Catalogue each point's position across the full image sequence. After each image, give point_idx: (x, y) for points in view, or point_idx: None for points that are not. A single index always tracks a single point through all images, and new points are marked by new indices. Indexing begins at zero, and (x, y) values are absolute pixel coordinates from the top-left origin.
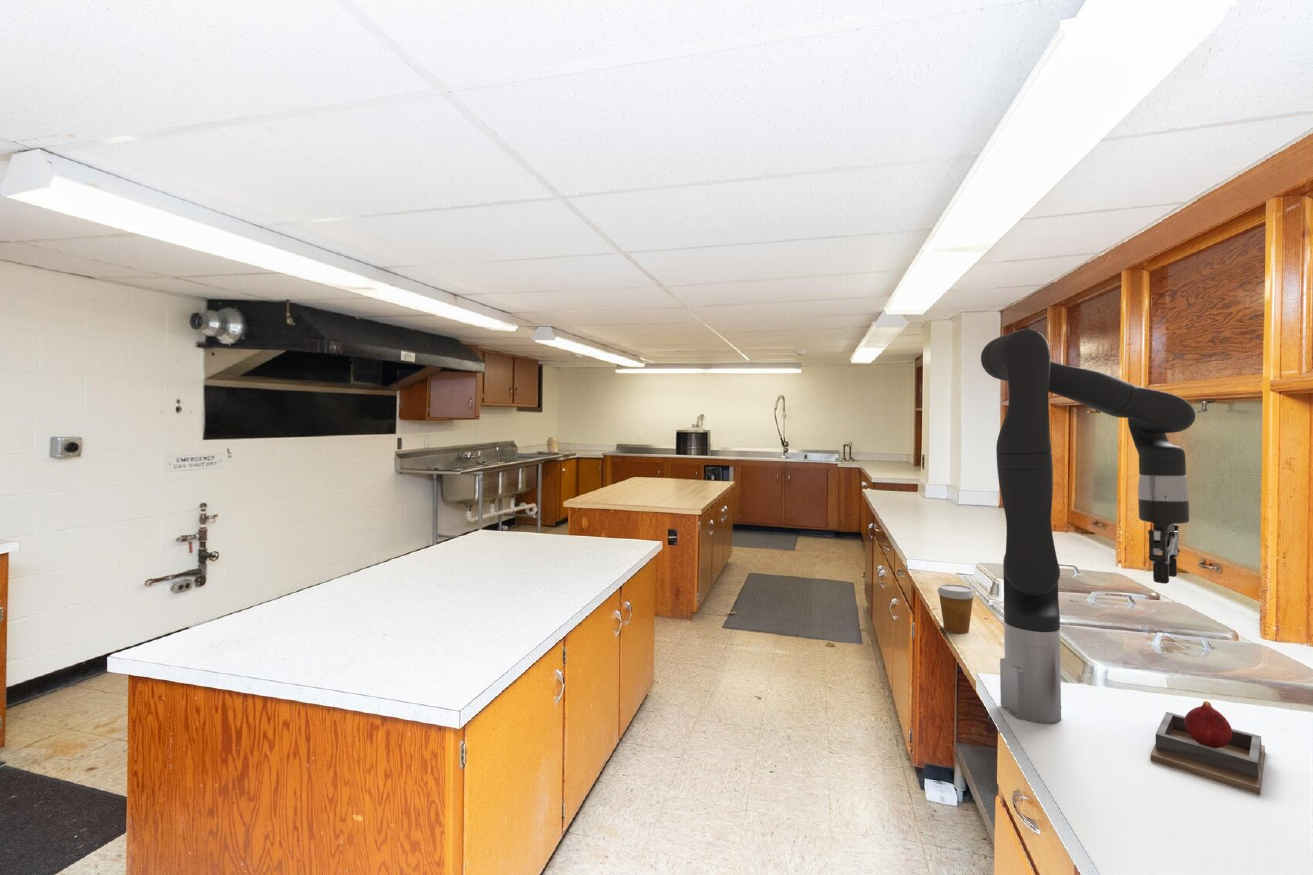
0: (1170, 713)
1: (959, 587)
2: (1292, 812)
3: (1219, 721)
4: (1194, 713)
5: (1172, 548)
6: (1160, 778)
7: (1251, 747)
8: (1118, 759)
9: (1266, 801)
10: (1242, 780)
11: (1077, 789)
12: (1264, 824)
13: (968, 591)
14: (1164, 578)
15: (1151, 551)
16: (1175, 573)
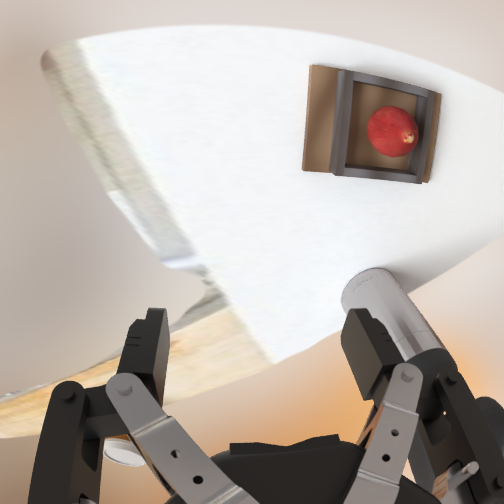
0: (338, 170)
1: (111, 454)
2: (451, 76)
3: (415, 123)
4: (410, 150)
5: (414, 426)
6: (454, 172)
7: (395, 88)
8: (437, 206)
9: (445, 91)
10: (435, 105)
11: (493, 226)
12: (481, 104)
13: (125, 450)
14: (384, 325)
15: (447, 430)
16: (163, 317)
